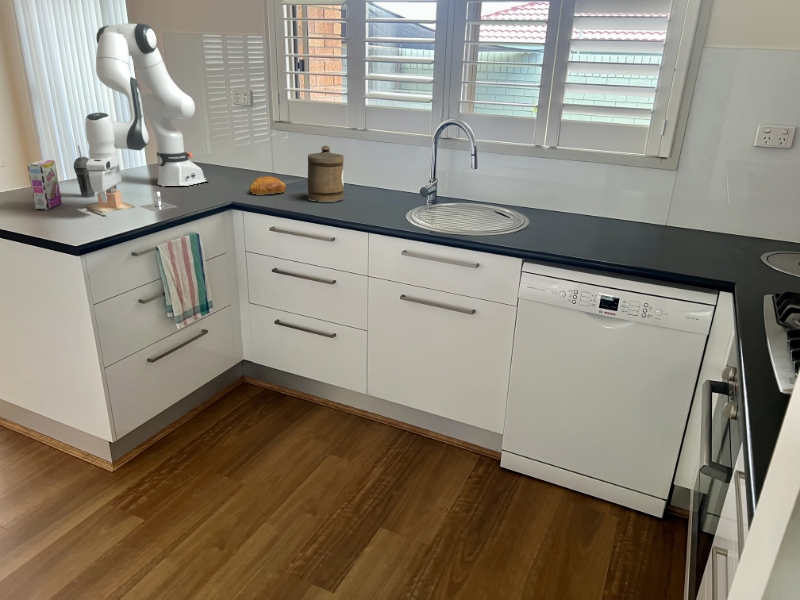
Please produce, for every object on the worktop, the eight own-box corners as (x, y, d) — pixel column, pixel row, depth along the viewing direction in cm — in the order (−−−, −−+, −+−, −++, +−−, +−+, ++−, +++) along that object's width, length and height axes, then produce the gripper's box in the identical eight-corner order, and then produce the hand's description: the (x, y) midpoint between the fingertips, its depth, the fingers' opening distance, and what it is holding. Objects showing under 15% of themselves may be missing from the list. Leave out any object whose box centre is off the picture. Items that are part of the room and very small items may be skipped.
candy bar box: (49, 210, 216) (41, 164, 210) (35, 210, 216) (26, 164, 210) (63, 203, 226) (55, 159, 220) (49, 203, 226) (41, 159, 220)
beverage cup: (102, 194, 242) (94, 144, 234) (91, 198, 235) (83, 147, 228) (85, 193, 242) (77, 143, 235) (74, 197, 236) (65, 146, 228)
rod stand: (164, 205, 228) (162, 187, 226) (178, 210, 223) (176, 192, 220) (139, 210, 221) (136, 191, 219) (153, 215, 215) (151, 195, 213)
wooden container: (350, 200, 250) (351, 146, 242) (323, 204, 240) (323, 149, 232) (327, 194, 260) (327, 142, 251) (300, 198, 249) (299, 144, 241)
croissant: (288, 200, 256) (290, 181, 253) (252, 197, 249) (253, 178, 246) (279, 192, 268) (281, 174, 265) (245, 189, 261) (246, 171, 258)
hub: (119, 205, 226) (116, 183, 223) (135, 211, 219) (132, 188, 216) (87, 210, 217) (83, 187, 214) (103, 216, 211) (99, 193, 207)
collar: (105, 203, 220) (103, 190, 218) (122, 204, 221) (120, 190, 219) (99, 207, 215) (97, 193, 213) (116, 207, 215) (114, 194, 213)
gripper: (105, 156, 221) (110, 193, 226) (83, 165, 202) (90, 205, 207) (123, 156, 221) (128, 193, 227) (103, 166, 203) (109, 205, 208)
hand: (109, 199), depth 217 cm, fingers open, 8 cm apart
